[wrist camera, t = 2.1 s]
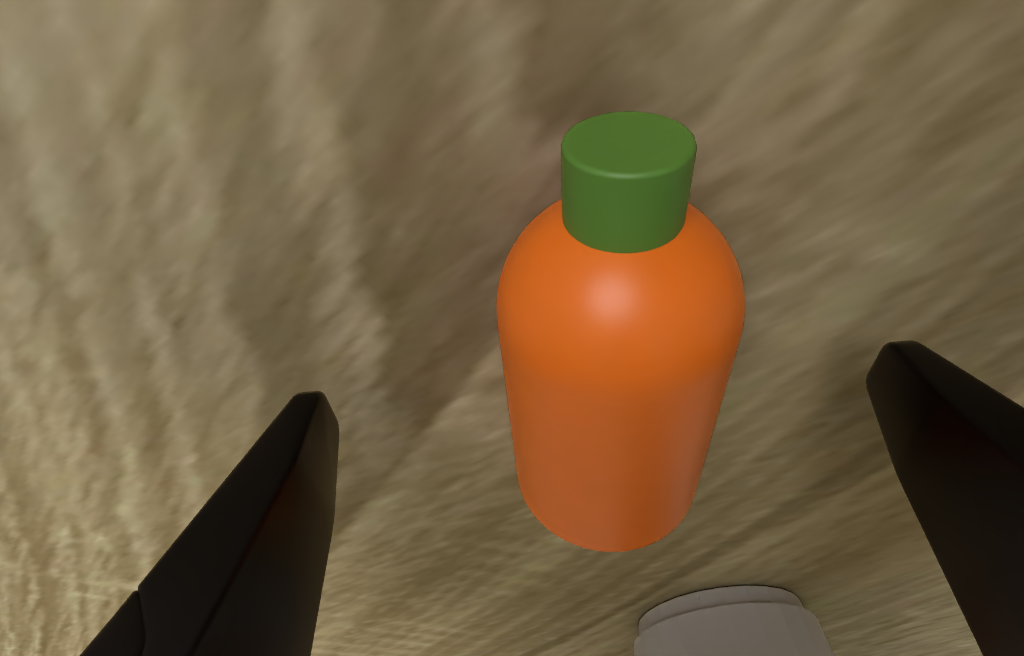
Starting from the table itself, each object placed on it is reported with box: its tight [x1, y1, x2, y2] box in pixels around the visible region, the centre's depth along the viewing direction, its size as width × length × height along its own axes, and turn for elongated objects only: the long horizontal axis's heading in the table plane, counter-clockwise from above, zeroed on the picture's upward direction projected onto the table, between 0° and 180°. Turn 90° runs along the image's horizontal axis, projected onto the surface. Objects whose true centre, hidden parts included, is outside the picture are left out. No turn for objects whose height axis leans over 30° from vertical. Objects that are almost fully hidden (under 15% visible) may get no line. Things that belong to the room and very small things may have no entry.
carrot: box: [496, 112, 745, 552], centre depth 10 cm, size 10×3×3 cm, turn 4°
